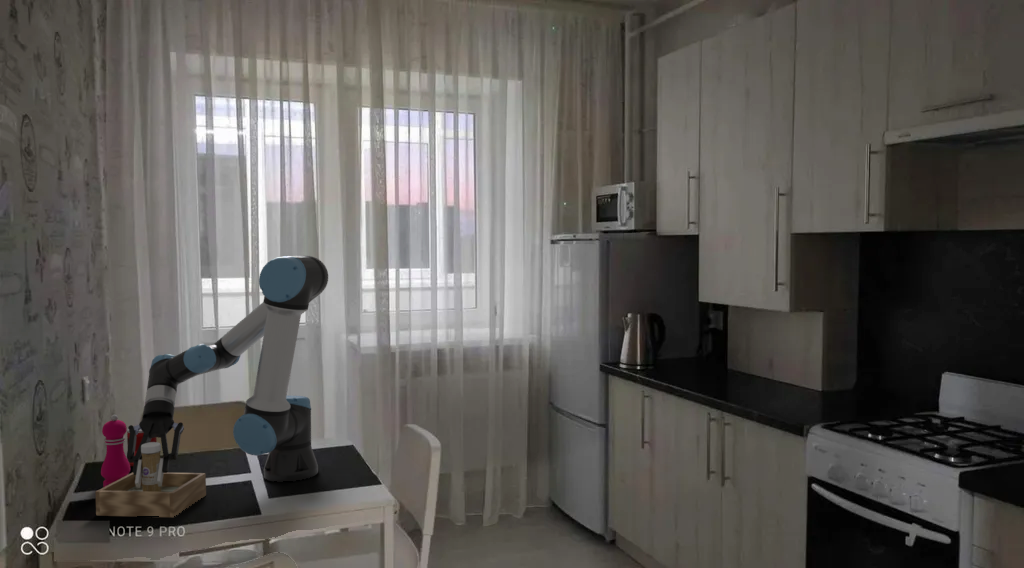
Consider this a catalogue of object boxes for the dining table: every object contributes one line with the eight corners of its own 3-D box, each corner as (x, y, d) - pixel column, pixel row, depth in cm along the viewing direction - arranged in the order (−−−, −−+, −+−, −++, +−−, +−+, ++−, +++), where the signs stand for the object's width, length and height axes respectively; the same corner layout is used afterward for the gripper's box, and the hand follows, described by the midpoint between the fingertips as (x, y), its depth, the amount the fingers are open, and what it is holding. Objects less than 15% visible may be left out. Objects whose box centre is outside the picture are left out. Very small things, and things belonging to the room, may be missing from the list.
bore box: (206, 495, 195) (205, 473, 194) (173, 517, 179) (173, 493, 178) (134, 493, 196) (133, 471, 196) (96, 515, 180) (95, 491, 180)
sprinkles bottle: (138, 498, 185) (137, 446, 184) (147, 492, 190) (145, 441, 189) (157, 498, 185) (155, 446, 185) (165, 492, 190) (163, 441, 189)
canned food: (162, 461, 225) (161, 426, 225) (137, 468, 219) (136, 432, 218) (148, 458, 229) (147, 423, 229) (123, 464, 223) (121, 429, 222)
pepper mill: (118, 490, 198) (115, 418, 197) (95, 489, 200) (92, 417, 199) (136, 482, 206) (134, 412, 205) (114, 480, 207) (112, 411, 206)
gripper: (195, 411, 204) (187, 488, 189) (127, 415, 199) (113, 494, 184) (192, 396, 198) (183, 474, 183) (121, 400, 193) (107, 480, 178)
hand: (148, 484), depth 184 cm, fingers closed on sprinkles bottle, 4 cm apart
